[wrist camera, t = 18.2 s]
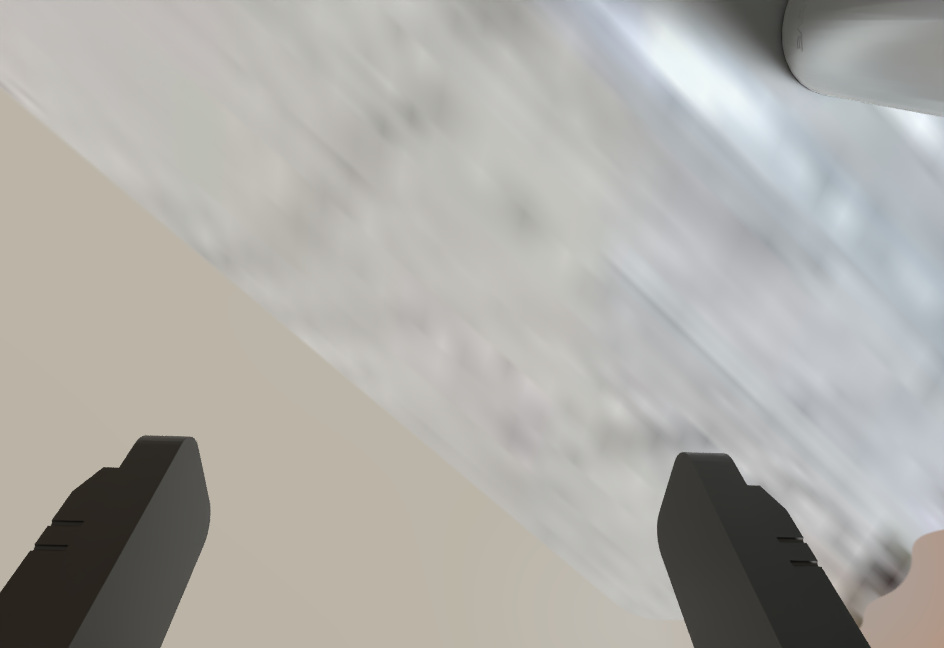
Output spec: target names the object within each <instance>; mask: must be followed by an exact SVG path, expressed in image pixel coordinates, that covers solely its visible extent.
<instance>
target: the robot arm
mask: <svg viewBox="0 0 944 648" xmlns="http://www.w3.org/2000/svg"><path fill="white" fill-rule="evenodd" d="M782 45H783V50H784V54H785V58H786V62H787V64H788V66H789V68H790V70H791V72H792V74H793V75H794V76H795V77H796V78H797V79H798V81H799V82H800V83H801V84H802V85H804V86H805V87H807V88H808V89H810V90H811V91H813V92H817V93H820V94H823V95H826V96H832V97H837V98H843V99H848V100H854V101H859V102H863V103H868V104H874V105H879V106H885V107H890V108H896V109H901V110H907V111H912V112H918V113H923V114H929V115H935V116H940V117H944V0H789V1H788V4H787V7H786V10H785V15H784V21H783V27H782ZM209 523H210V502H209V497H208V492H207V487H206V482H205V477H204V473H203V468H202V463H201V458H200V453H199V449H198V445H197V442H196V441H195V439H194V438H193V437H181V436H142V437H140V438H139V439H138V440H137V442H136V443H135V444H134V446H133V447H132V449H131V450H130V452H129V453H128V455H127V457H126V458H125V460H124V461H123V463H122V464H121V466H120V467H119V468H109V467H107V468H106V467H103V468H102V469H101V470H99V471H98V472H97V473H96V474H94V475H93V476H92V477H91V478H89V479H88V480H86V481H85V482H84V483H83V484H81V485H80V486H79V487H77V488H76V489H75V490H74V491H72V493H71V494H70V496H69V497H68V498H67V500H66V501H65V503H64V504H63V505H62V507H61V508H60V509H59V511H58V513H57V514H56V515H55V516H54V518H53V519H52V524H51V526H47V528H46V529H45V531H44V532H43V533H42V535H41V536H40V538H39V539H38V541H37V542H36V543H35V548H34V550H33V551H30V552H29V553H28V555H27V556H26V557H25V559H24V560H23V561H22V563H21V564H20V566H19V567H18V569H17V570H16V571H15V573H14V574H13V575H12V577H11V578H10V580H9V581H8V582H7V584H6V585H5V587H4V588H3V589H2V591H1V592H0V648H160V647H161V645H162V643H163V640H164V638H165V635H166V633H167V631H168V628H169V626H170V624H171V621H172V619H173V617H174V614H175V612H176V609H177V607H178V605H179V602H180V600H181V598H182V595H183V593H184V591H185V588H186V586H187V583H188V581H189V579H190V576H191V574H192V572H193V569H194V567H195V564H196V562H197V560H198V557H199V555H200V553H201V550H202V548H203V545H204V543H205V540H206V537H207V534H208V529H209ZM657 536H658V544H659V549H660V552H661V556H662V558H663V561H664V564H665V567H666V570H667V572H668V575H669V578H670V581H671V584H672V586H673V589H674V592H675V595H676V598H677V601H678V603H679V606H680V609H681V612H682V615H683V617H684V620H685V623H686V626H687V629H688V632H689V634H690V637H691V640H692V643H693V646H694V648H871V647H870V646H869V644H868V642H867V641H866V639H865V637H864V636H863V634H862V633H861V631H860V629H859V628H858V626H857V624H856V623H855V621H854V619H853V618H852V616H851V615H850V613H849V611H848V610H847V608H846V606H845V605H844V603H843V602H842V600H841V598H840V597H839V595H838V593H837V592H836V590H835V588H834V587H833V585H832V584H831V582H830V580H829V579H828V577H827V575H826V574H825V572H824V570H823V569H822V567H818V565H817V559H816V557H815V556H814V554H813V553H812V551H811V549H810V548H809V546H808V544H807V543H804V542H803V536H802V535H801V533H800V531H799V530H798V528H797V526H796V525H795V523H794V522H793V520H792V518H791V517H790V515H789V513H788V512H787V510H786V509H785V508H784V507H783V506H782V505H780V504H779V503H778V502H777V501H776V500H775V499H774V498H773V497H772V496H770V495H769V494H768V493H767V492H766V491H765V490H764V489H763V488H762V487H761V486H751V485H747V484H746V483H745V481H744V479H743V477H742V475H741V474H740V472H739V470H738V468H737V467H736V465H735V463H734V461H733V460H732V458H731V457H730V456H729V455H727V454H724V453H690V452H682V453H680V454H679V455H678V456H677V458H676V460H675V462H674V466H673V469H672V472H671V476H670V479H669V482H668V485H667V489H666V492H665V495H664V499H663V502H662V505H661V508H660V512H659V516H658V522H657Z"/></svg>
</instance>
